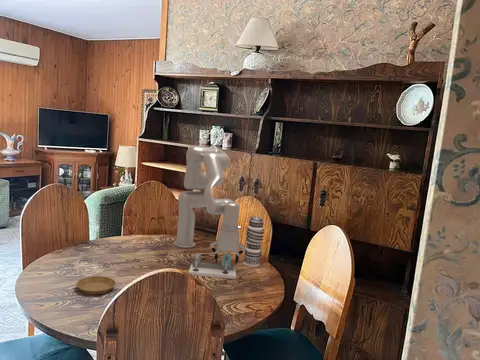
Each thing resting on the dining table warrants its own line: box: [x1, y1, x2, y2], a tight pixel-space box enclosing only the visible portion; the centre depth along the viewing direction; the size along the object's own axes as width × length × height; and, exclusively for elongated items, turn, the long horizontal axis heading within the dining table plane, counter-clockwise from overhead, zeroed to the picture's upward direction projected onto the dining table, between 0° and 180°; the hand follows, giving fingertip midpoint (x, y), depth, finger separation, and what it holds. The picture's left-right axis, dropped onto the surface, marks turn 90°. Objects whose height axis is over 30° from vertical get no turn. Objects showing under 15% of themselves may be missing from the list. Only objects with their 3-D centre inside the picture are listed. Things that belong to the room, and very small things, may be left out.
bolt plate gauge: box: [188, 253, 237, 280], centre depth 185 cm, size 10×22×8 cm, turn 92°
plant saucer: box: [76, 275, 116, 296], centre depth 155 cm, size 15×15×3 cm
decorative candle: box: [243, 216, 265, 267], centre depth 202 cm, size 9×9×25 cm
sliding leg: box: [221, 252, 232, 272], centre depth 185 cm, size 8×4×7 cm, turn 2°
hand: (226, 262), depth 187 cm, fingers open, 9 cm apart
